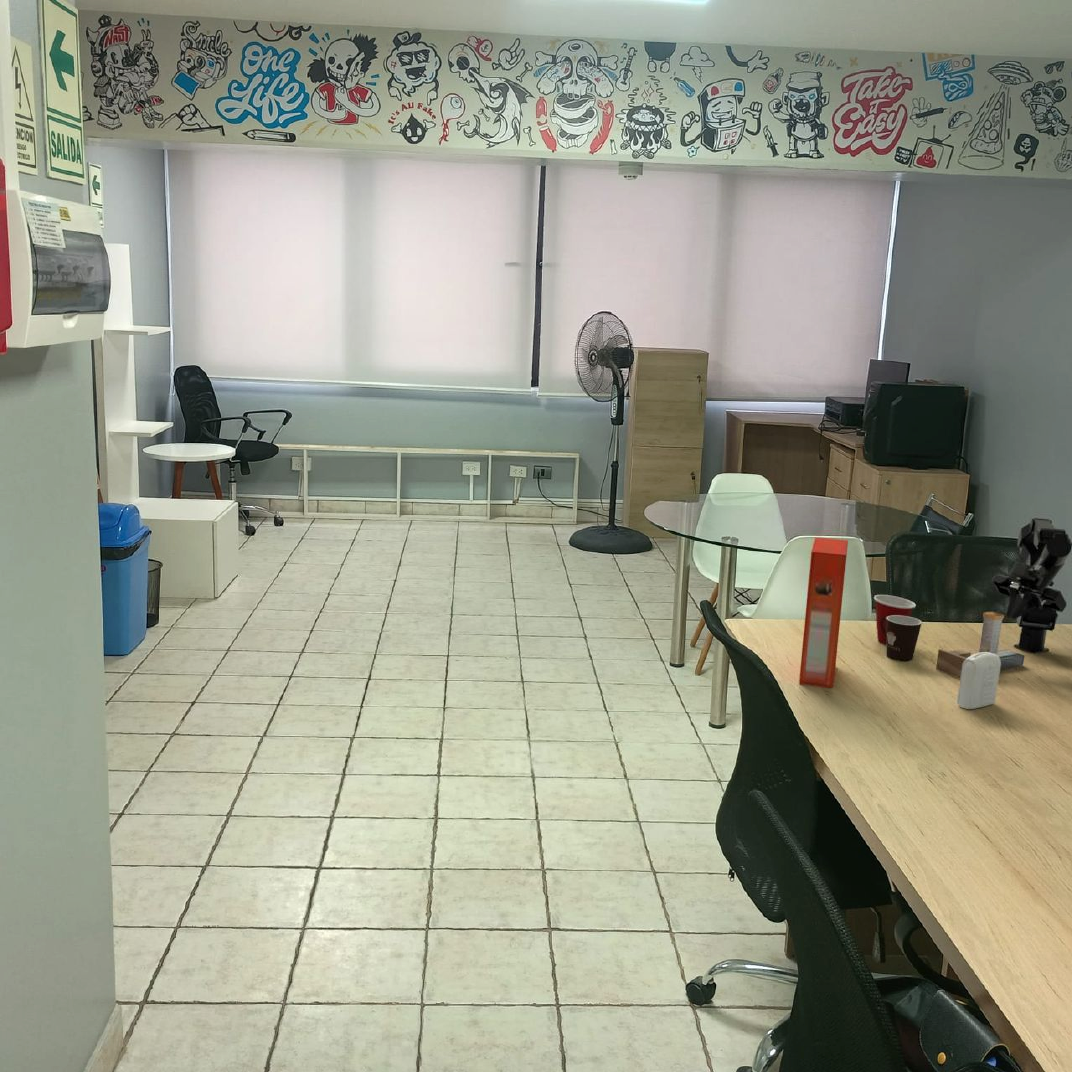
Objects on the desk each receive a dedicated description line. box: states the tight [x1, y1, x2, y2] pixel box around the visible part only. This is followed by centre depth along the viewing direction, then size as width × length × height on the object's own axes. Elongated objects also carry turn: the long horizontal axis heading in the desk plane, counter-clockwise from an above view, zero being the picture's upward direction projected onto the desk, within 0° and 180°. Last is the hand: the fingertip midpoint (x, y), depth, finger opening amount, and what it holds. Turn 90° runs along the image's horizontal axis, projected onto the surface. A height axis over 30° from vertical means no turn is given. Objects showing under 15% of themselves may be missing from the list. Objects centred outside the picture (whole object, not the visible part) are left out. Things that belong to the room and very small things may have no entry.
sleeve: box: [999, 649, 1025, 671], centre depth 278 cm, size 12×5×3 cm, turn 120°
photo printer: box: [956, 652, 1001, 710], centre depth 247 cm, size 10×4×12 cm, turn 123°
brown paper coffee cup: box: [880, 615, 923, 663], centre depth 281 cm, size 12×9×10 cm
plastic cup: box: [873, 594, 917, 646], centre depth 292 cm, size 11×11×12 cm
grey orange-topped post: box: [978, 611, 1018, 658], centre depth 276 cm, size 13×3×13 cm, turn 120°
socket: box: [935, 648, 972, 679], centre depth 271 cm, size 9×9×5 cm
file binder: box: [798, 537, 849, 689], centre depth 261 cm, size 8×17×32 cm, turn 163°
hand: (1009, 617), depth 276 cm, fingers closed
